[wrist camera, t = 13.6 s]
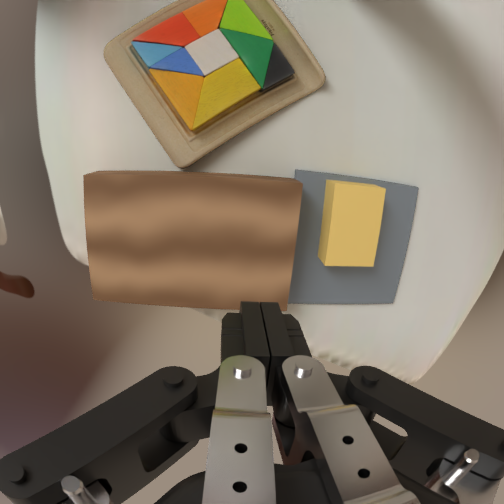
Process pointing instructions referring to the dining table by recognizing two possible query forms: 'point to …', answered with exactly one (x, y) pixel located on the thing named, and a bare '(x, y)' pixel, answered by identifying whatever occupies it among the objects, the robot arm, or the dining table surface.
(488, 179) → the dining table surface
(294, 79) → the wooden puzzle
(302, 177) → the slate mat
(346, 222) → the ochre tile
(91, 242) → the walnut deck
